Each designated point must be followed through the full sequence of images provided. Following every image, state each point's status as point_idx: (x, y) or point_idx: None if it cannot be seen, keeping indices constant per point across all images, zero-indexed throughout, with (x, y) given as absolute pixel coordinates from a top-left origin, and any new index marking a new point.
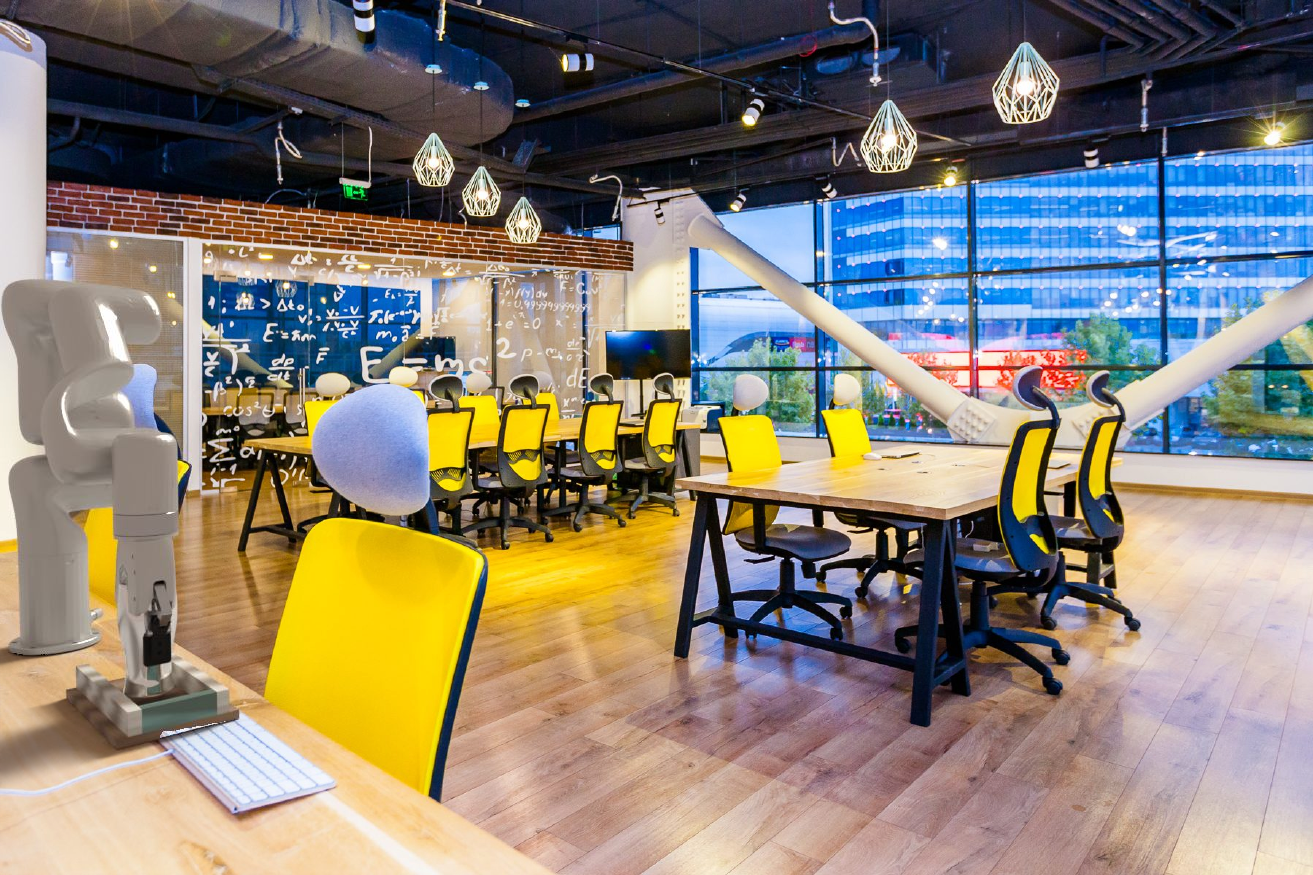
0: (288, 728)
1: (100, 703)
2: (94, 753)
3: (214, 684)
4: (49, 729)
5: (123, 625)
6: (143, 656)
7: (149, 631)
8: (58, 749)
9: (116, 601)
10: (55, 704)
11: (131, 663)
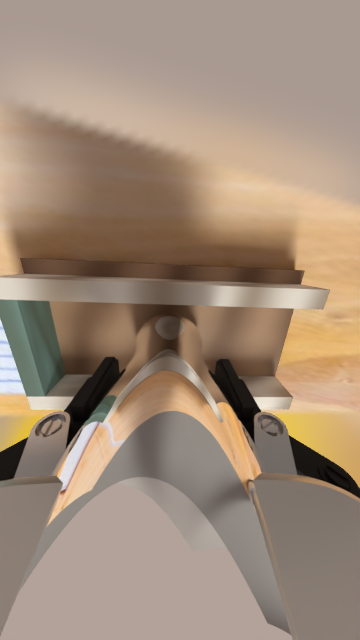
0: (2, 407)
1: (166, 280)
2: (35, 231)
3: (65, 403)
4: (179, 212)
5: (124, 401)
6: (104, 367)
7: (31, 434)
8: (82, 197)
9: (327, 505)
10: (281, 251)
11: (148, 344)
